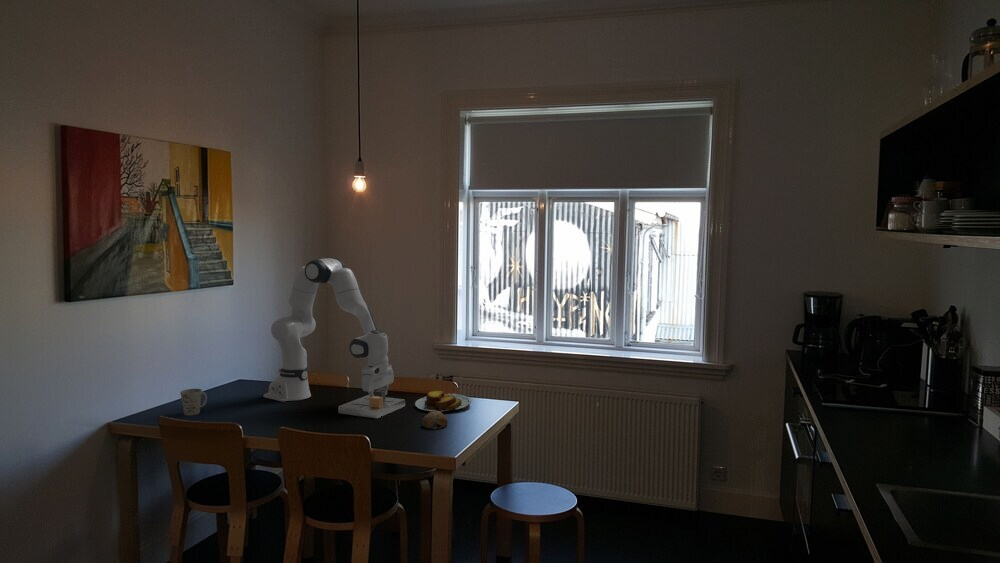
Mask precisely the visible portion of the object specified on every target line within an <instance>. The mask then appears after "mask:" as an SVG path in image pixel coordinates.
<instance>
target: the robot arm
mask: <svg viewBox="0 0 1000 563" xmlns="http://www.w3.org/2000/svg"><path fill="white" fill-rule="evenodd" d="M346 266H347V265H346V264H345V263H344V262H343V260H341V259H339V258H336V257H335V258H334V257H332V258H330V257H325V258H319V259H313V260H310V261H308V262H307V263H306V264H305V265H304V266H301V267H300V268H299V270H298V272H297V274H296V276H295V277H294V281H293V284H292V287H291V292H290V295H289V297H288V304H289V305H290V306H291V314H290V316H285V317H284V316H283V317H281V318H279V319H276V320H275V321H274V322H273V323H272V324H271V329H270V330H271V335H272V337H273V338H274V339H275V340H277V342H278V344H279V346H280V350H281V355H282V357H281V358H282V359H281V360H282V367H281V368H279V369H278V370H277V373H279V376H277V377H276V378H275V379H274V380H273V381H271V382H270V383H269V385H268V386H269V387H268V392H266V393H264V394H263V398H266V399H270V400H275V401H279V402H287V401H291V402H292V401H301V400H305V399H308V398H310V397H312V394H311V390H310V386H309V384H310V383H309V378H308V376H309V368H308V360H307V359H308V358H307V357H308V356H307V355H308V354H307V352H308V351H307V350H306V348H304V347H303V345H302V343H301V338H304V337H307V336H308V335H311V334H312V333H313V332H314V331H315V329H316V325H317V324H316V323H317V322H316V320H315V318H314V315H313V307H314V302H315V299H316V296H317V291H318V288H319V285H320V284H330V285H331V286H332V288H333V292H334V295H335V300H336V303H337V305H338V306H339V308H340V309H341V310H343V311H344V312H346V313H350V314H352V315H354V316H355V317H356V318H357V319H358V321H359V323H360V326H361V328H362V330H363V334H364V335H362V336H358V337H355V338H353V339H351V340H350V343H349V346H348V348H349V349H348V350H349V352H350V353H349V354H350V355H351V356H352V357H353V358H354V359H358V360H359V359H365V358H367V360H368V362H367V364H365V366H364V367H362V368H361V374H362V376H361V389H362V391H363V392H368V395H370V397H372V396H375V395H374V394H373V392H374V390H379V389H380V388H382V387H383V389H382V391H385V396H386V395H388V391H389V390H388V389H389V387H390V385H391V384H393V383H394V380H395V377H394V370H393V366H392V364H391V363H389V356H388V352H389V340H388V335H387V333H386V332H385V331H382V330H379V329H378V328H377V326H376V323H375V321H374V318H373V315H372V312H371V310H370V307H369V305H368V304H367V303H366V301H365V300H364V299H363V296H362V293H361V290H360V286H359V284H358V281H357V278H356V276H355V274H354V272H353V270H352V269H350V268H347V267H346Z"/></svg>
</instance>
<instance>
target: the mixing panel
mask: <svg viewBox="0 0 1000 563" xmlns="http://www.w3.org/2000/svg"><path fill="white" fill-rule="evenodd" d="M369 398H370V395H369V394H367V395H364V396H362V397H359V398H357V399H353V400H352V401H348V402H346V403H343V404H341V405H338V408H337V409H338V414H341V415H349V416H350V415H351V416H356V417H364V418H372V419H379V418H382V417H383V416H386V415H388V414H391V413H393V412H395V411H398V410H400V409H402V408H403V407H405V406H406V399H403V398H396V397H395V398H394V397H389V396H387V397H386V396H385V400H383V407H380V408H376V407H370V404H369ZM381 416H382V417H381Z"/></svg>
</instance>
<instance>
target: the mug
mask: <svg viewBox="0 0 1000 563" xmlns="http://www.w3.org/2000/svg"><path fill="white" fill-rule="evenodd" d="M202 396H203V397H204V401H203V403H202ZM180 399H181V404H182V409H183V414H184V416H196V415H199V414H200V413H201V412H200V411H201V408H203V407H204V406H206V404H207V401H208V396H207V393H206V392H205V391H203V390H202V389H200V388H187V389H183V390H181V391H180ZM201 403H202V404H201Z"/></svg>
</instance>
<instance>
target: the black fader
mask: <svg viewBox="0 0 1000 563" xmlns="http://www.w3.org/2000/svg"><path fill="white" fill-rule="evenodd" d="M373 394H374V395H375V396H379V397H383V400H385V397H386V395H385V391H383V389H382V390H381V389H380V390H379V389H375V390H374V392H373Z"/></svg>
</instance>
